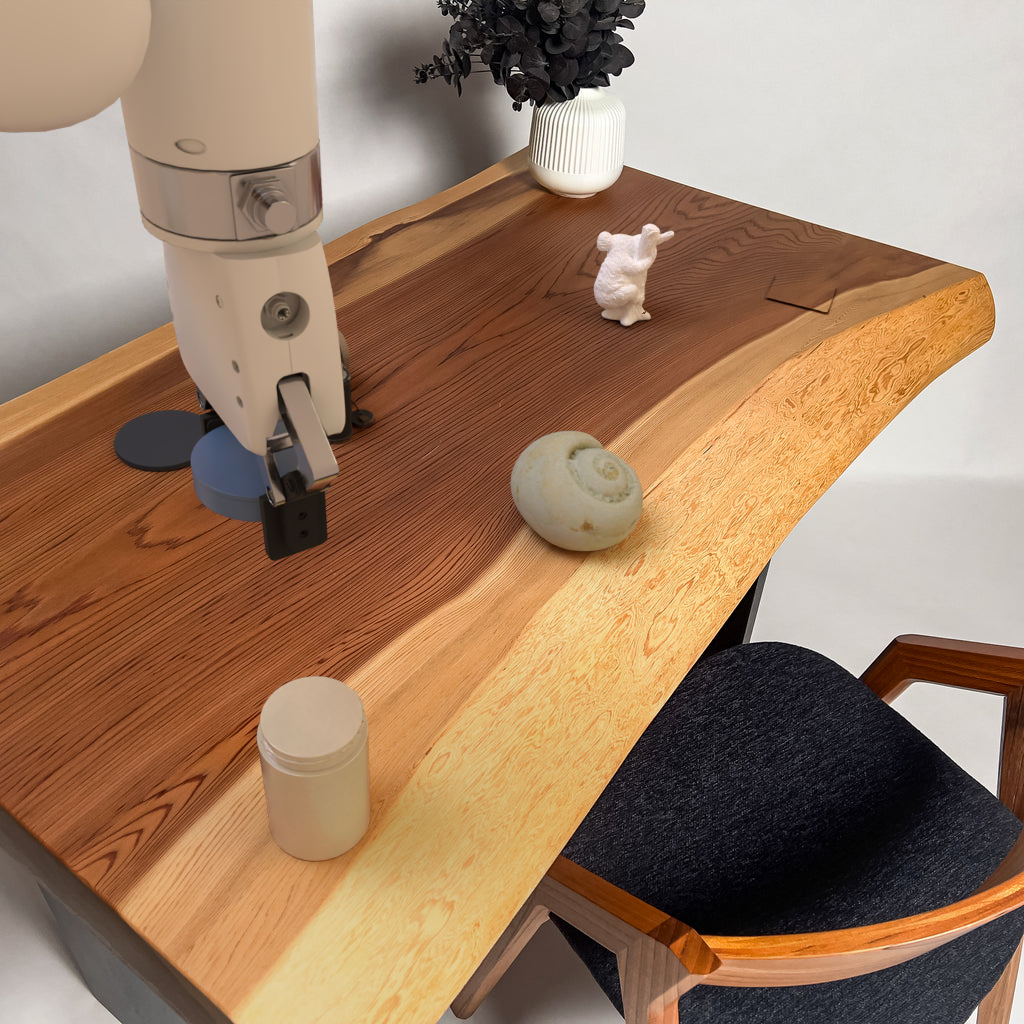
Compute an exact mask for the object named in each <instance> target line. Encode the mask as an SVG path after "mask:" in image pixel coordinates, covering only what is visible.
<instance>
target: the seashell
mask: <svg viewBox="0 0 1024 1024" xmlns="http://www.w3.org/2000/svg"><path fill="white" fill-rule="evenodd" d="M510 490H511V496H512V497H511V498H512V500H513V502H514V505H515V507H516V509H517V510H518V512H519V514H520V515H521V517H522V518H523V519H524V521H525V522H526V523H527V524H528V525H529V527H530V528H531V529H532V530H533V531H534V532H535V533H536V534H537V535H539V536H540V537H541V538H542V539H544V540H546V541H547V542H548V543H550V544H552V545H553V546H557V547H558V548H561V549H565V550H568V551H576V552H593V551H595V552H596V551H601V550H605V549H607V548H610V547H614V546H615V545H617V544H618V543H620V542H621V541H623V540H625V539H626V538H627V537H628V536H629V535H630V534H631V533H632V531H634V529H635V528H636V526H637V524H638V522H639V520H640V518H641V515H642V511H643V506H644V495H643V494H644V493H643V487H642V483H641V481H640V479H639V476H638V474H637V473H636V470H635V469H634V468H633V467H632V466H631V465H630V464H628V463H627V462H626V461H625V460H624V459H623V458H621V457H620V456H619V455H617V454H616V453H614V452H613V451H610V450H608V449H605V447H604V446H603V445H602V443H601V442H600V441H599V440H597V439H596V438H595V437H593V435H591V434H589V433H587V432H583V431H578V430H562V431H556V432H552V433H549V434H545V435H544V436H541V437H539V438H538V439H536V440H535V441H534V440H533V442H532V443H530V444H529V445H528V446H527V447H526V448H525V449H524V450H523V451H522V452H521V454H519V456H518V458H517V459H516V461H515V463H514V465H513V468H512V471H511V475H510Z"/></svg>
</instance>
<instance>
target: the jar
mask: <svg viewBox="0 0 1024 1024" xmlns="http://www.w3.org/2000/svg"><path fill="white" fill-rule="evenodd" d="M369 731H370V730H369V721H368V717H367V714H366V709H365V705H364V703H363V700H362V698H361V696H360V695H359V693H358V692H357V690H356V689H354V690H353V689H352V688H351V687H350V686H348V685H347V684H346V683H345V682H342V681H340V680H339V679H335V678H334V677H333V678H332V677H329V676H321V675H320V676H319V675H318V676H316V675H313V676H312V675H311V676H304V677H299V678H296V679H294V680H291V681H288V682H287V683H284V684H283V685H282V686H279V687H278V688H277V689H276V690H274V691H273V693H271V694H270V695H269V697H268V698H267V700H266V701H265V702H264V705H263V706H262V709H261V711H260V716H259V724H258V726H257V731H256V744H257V751H258V758H259V765H260V770H261V777H262V784H263V791H264V796H265V803H266V811H267V817H268V825H269V830H270V833H271V836H272V838H273V840H274V841H275V843H276V844H277V845H278V847H279V848H280V849H281V850H282V851H283V852H285V853H286V854H288V855H289V856H292V857H294V858H296V859H300V860H304V861H310V862H320V861H327V860H331V859H334V858H335V859H336V858H337V857H340V856H342V855H344V854H345V853H347V852H349V851H350V850H351V849H352V848H354V847H355V846H356V845H357V844H358V843H360V841H361V839H362V838H363V837H364V835H365V833H366V832H367V830H368V827H369V825H370V820H371V773H370V772H371V771H370V736H369V735H370V733H369Z"/></svg>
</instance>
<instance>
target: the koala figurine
mask: <svg viewBox="0 0 1024 1024" xmlns="http://www.w3.org/2000/svg"><path fill="white" fill-rule="evenodd" d="M673 237H675V232H674V231H673V230H668V231H666V232H664V233H661V230H660V228H659V227H658V226H657V225H655V224H654V223H647V224H645V225H643V226H642V229H641V233H638V234H636V235H629V234H624V233H615V234H611V233H610V232H609V231H602V232H600V233H599V235H598V236H597V239H596V248H597V250H598V251H600V252H606V256H605V258H604V259H603V260H604V261H603V262H602V263H601V264H600V268H599V270H598V273H597V276H596V279H595V282H594V284H593V295H594V299H595V302H596V303H597V305H598V306H600V307H601V308H602V309H604V310H603V311H602V312H601V316H602V318H604V319H606V320H611V321H612V320H613V321H614V320H615V321H619V322H620V324H621V325H622V326H624V327H628V326H632V324H634V323H636V322H638V321H646V320H651V319H652V318H651V314H650V313H649V312H648V311H646V310H645V309H644V308H643V304H644V301H645V300H646V298H645V294H646V283H647V280H648V279H647V277H648V270H649V269H650V268H651V266H652V265H653V263H654V262H655V260H656V258H657V255H658V249H657V246H658V245H661V244H662V243H665V242H667V241H669V240H670V239H672V238H673ZM645 311H646V313H645V314H642V313H643V312H645Z"/></svg>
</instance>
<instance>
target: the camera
mask: <svg viewBox="0 0 1024 1024" xmlns="http://www.w3.org/2000/svg"><path fill="white" fill-rule="evenodd" d="M338 336H339V345H340V355H341V365H342V376H343V388H344V401H345V425H344V428H343V430H342V432H341V433H339V434H332V435H329V436H328V435H327V434H326V433H325V434H326V436H327V439H328V441H329V444H342V443H346V442H347V441H348V440H350V439H351V438H352V436H353V435H354V434H353V433H354V430H353V427H354V428H357V429H366V428H369V427H370V426H372V424H374V420H375V414H374V413H373V412H372V411H370V410H368V409H364V408H359V406H358V405H357V404H356V403H355V401H353V399H352V374H351V372H350V367H351V357H350V350H349V346H348V344H347V340H346V337H345V336H344V334H343V333H342V332H341V331H340V330H339V329H338ZM352 404H353V405H354V407H355V408H356V409H354V410H353V408H352V407H353V406H352Z"/></svg>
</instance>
